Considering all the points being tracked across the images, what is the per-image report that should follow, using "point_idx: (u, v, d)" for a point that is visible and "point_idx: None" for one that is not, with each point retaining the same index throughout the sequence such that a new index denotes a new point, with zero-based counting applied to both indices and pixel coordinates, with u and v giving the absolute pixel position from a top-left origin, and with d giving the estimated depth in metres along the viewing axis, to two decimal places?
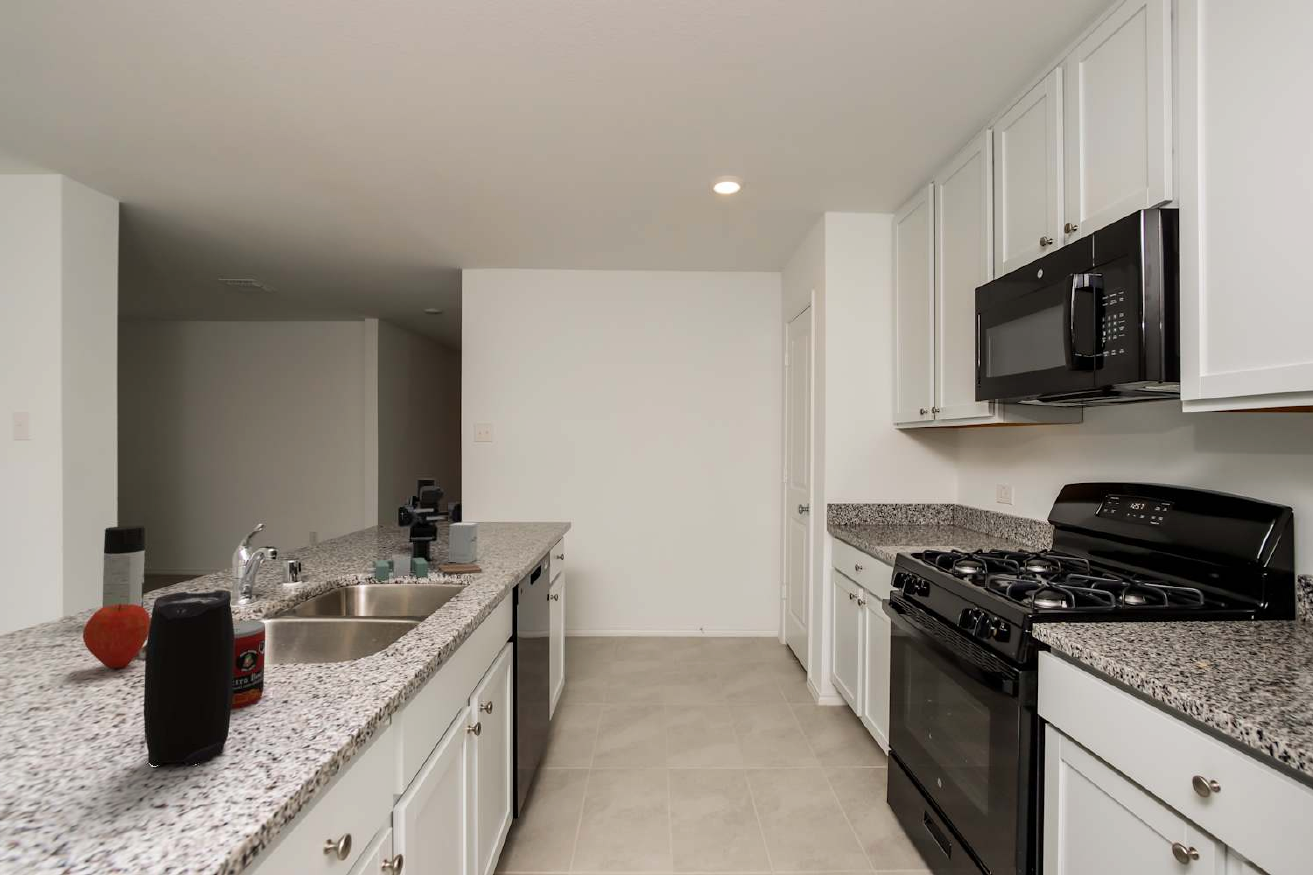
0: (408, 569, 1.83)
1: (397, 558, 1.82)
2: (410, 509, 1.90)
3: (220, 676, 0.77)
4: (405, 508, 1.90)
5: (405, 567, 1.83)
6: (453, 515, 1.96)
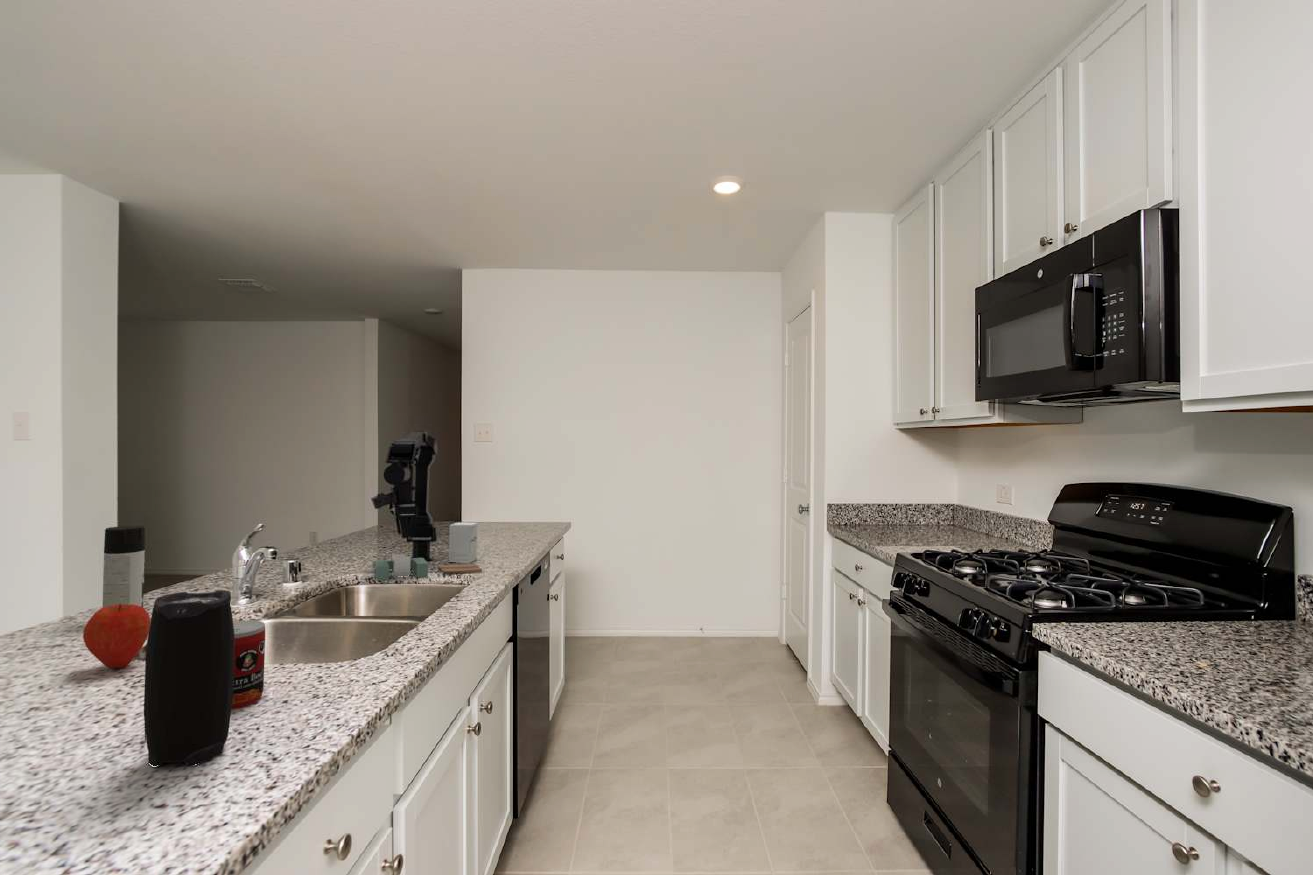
0: (408, 569, 1.83)
1: (397, 558, 1.82)
2: (392, 513, 1.89)
3: (220, 676, 0.77)
4: (390, 511, 1.90)
5: (405, 567, 1.83)
6: None
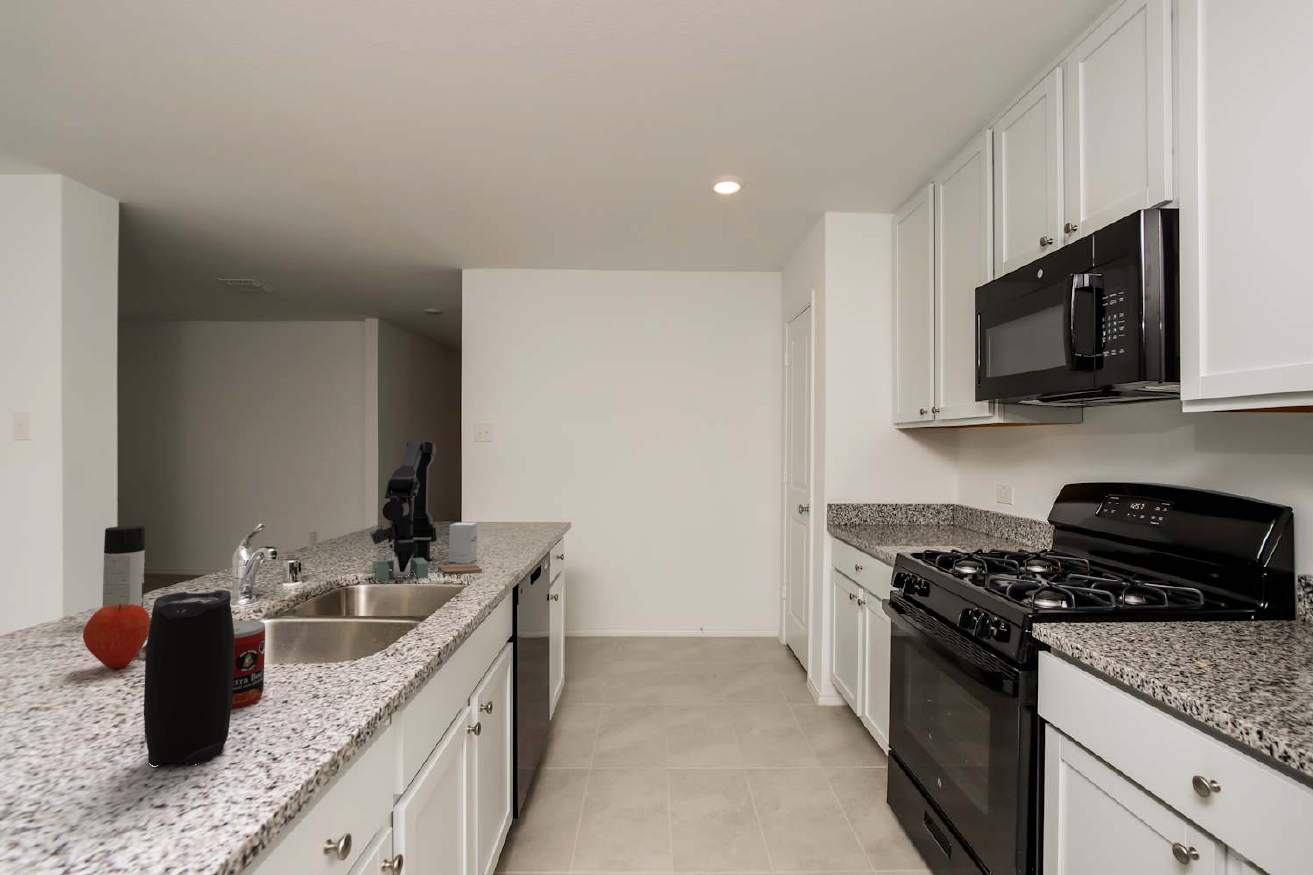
0: (408, 569, 1.83)
1: (397, 558, 1.82)
2: (392, 548, 1.87)
3: (220, 676, 0.77)
4: None
5: None
6: (405, 550, 1.81)
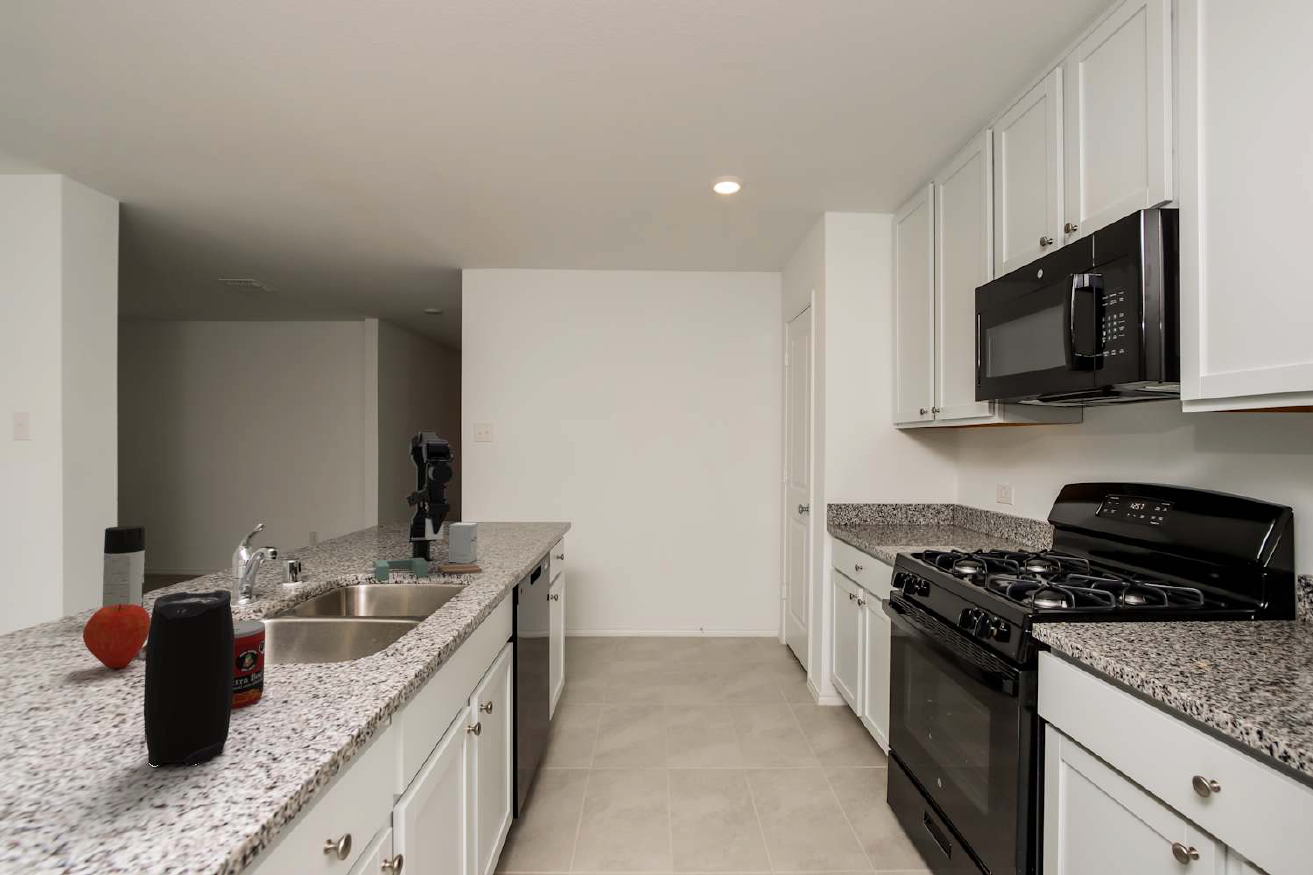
0: (441, 531, 1.88)
1: None
2: (425, 512, 1.92)
3: (220, 676, 0.77)
4: None
5: None
6: None
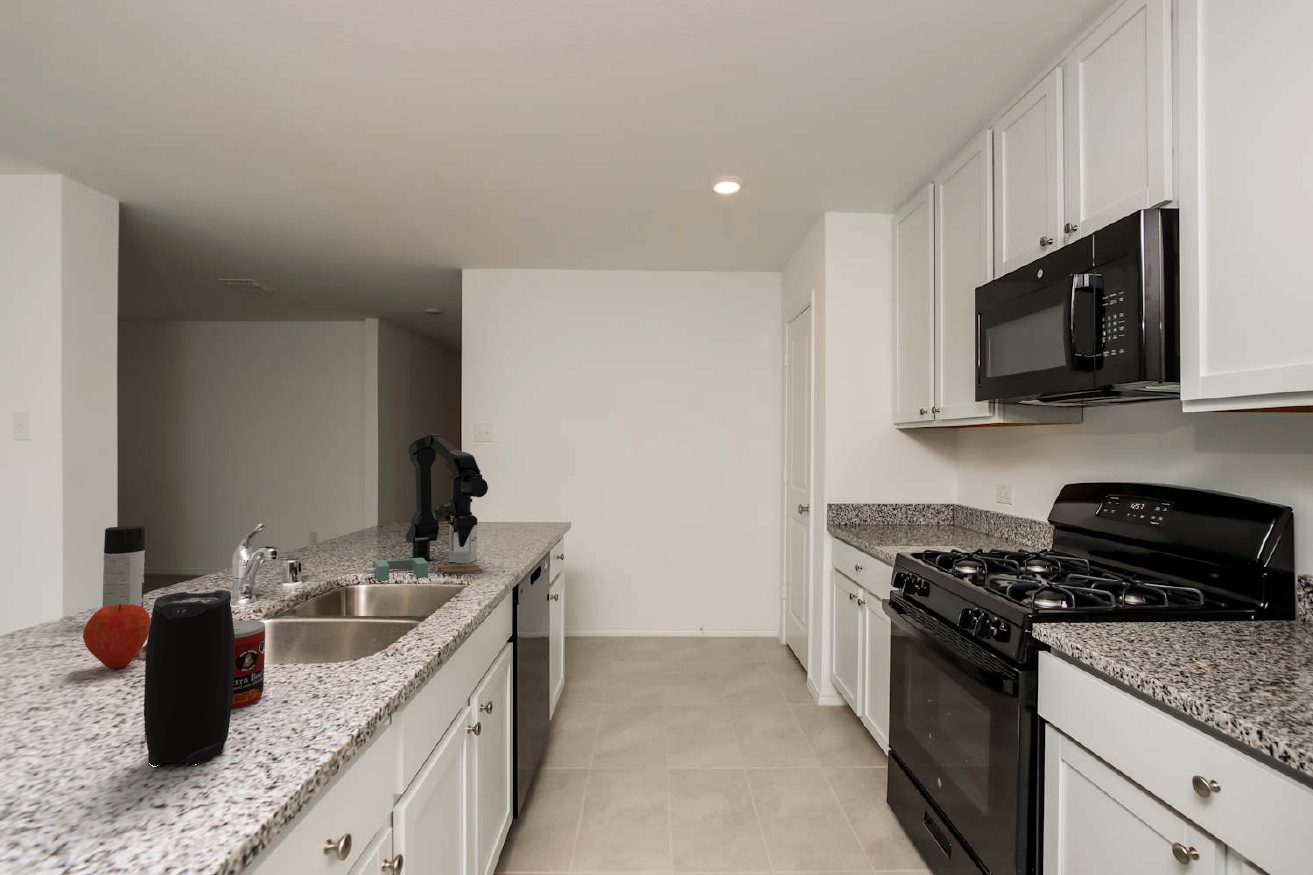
0: (467, 544, 1.92)
1: (457, 533, 1.91)
2: None
3: (220, 676, 0.77)
4: None
5: None
6: (465, 526, 1.90)
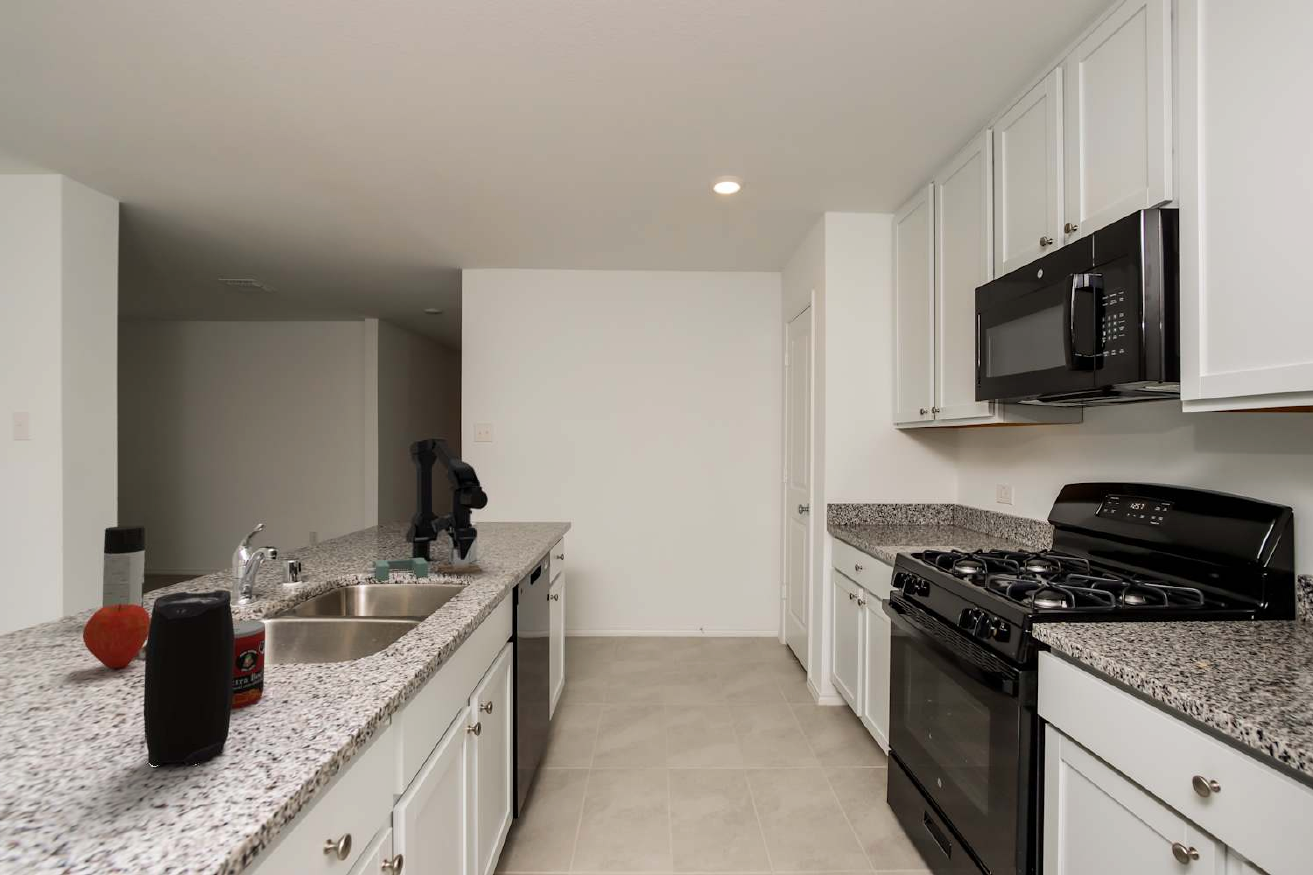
0: (467, 561, 1.92)
1: (457, 550, 1.91)
2: None
3: (220, 676, 0.77)
4: (447, 533, 1.98)
5: None
6: None
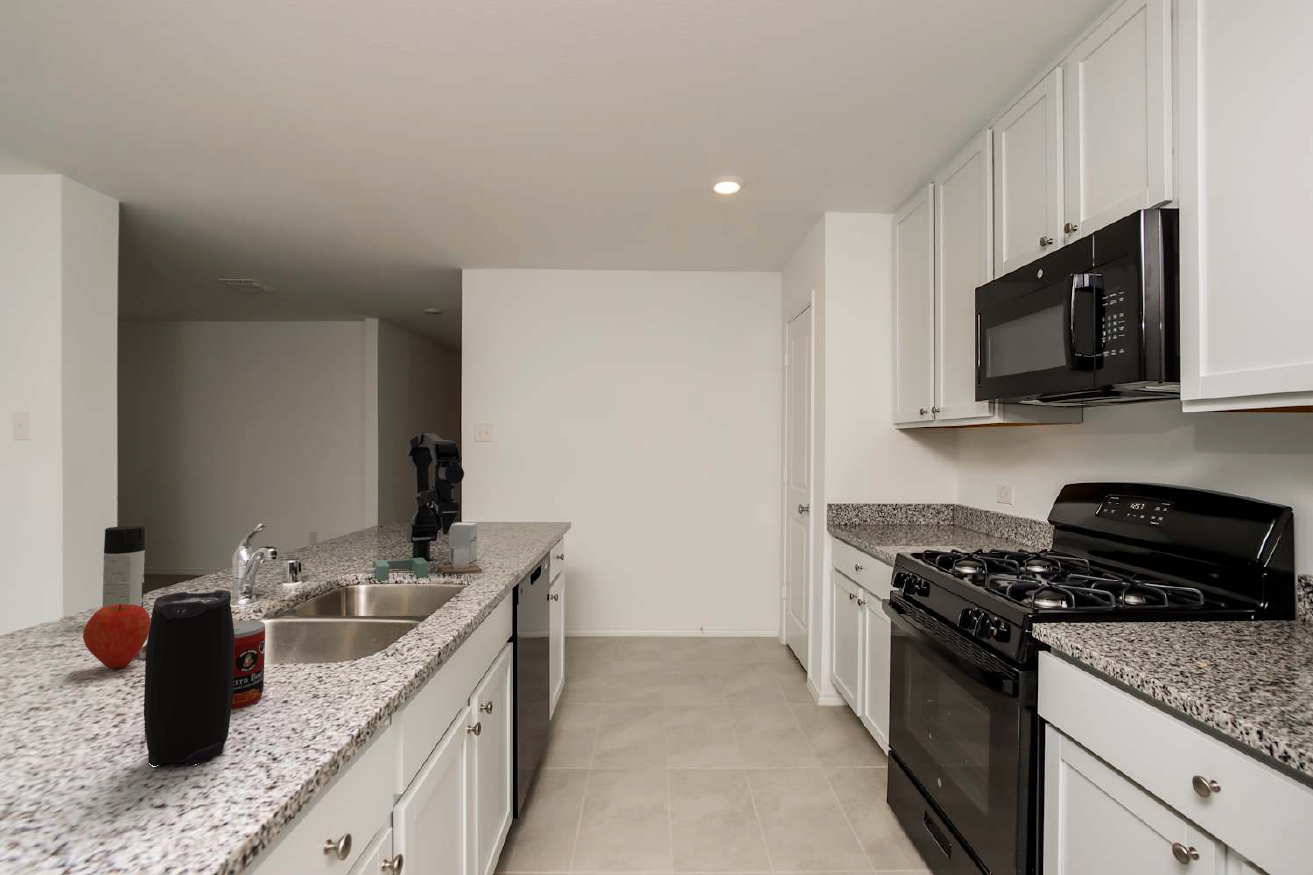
0: (467, 561, 1.92)
1: (457, 550, 1.91)
2: (431, 510, 1.97)
3: (220, 676, 0.77)
4: (429, 508, 1.98)
5: (464, 559, 1.92)
6: (449, 513, 1.87)
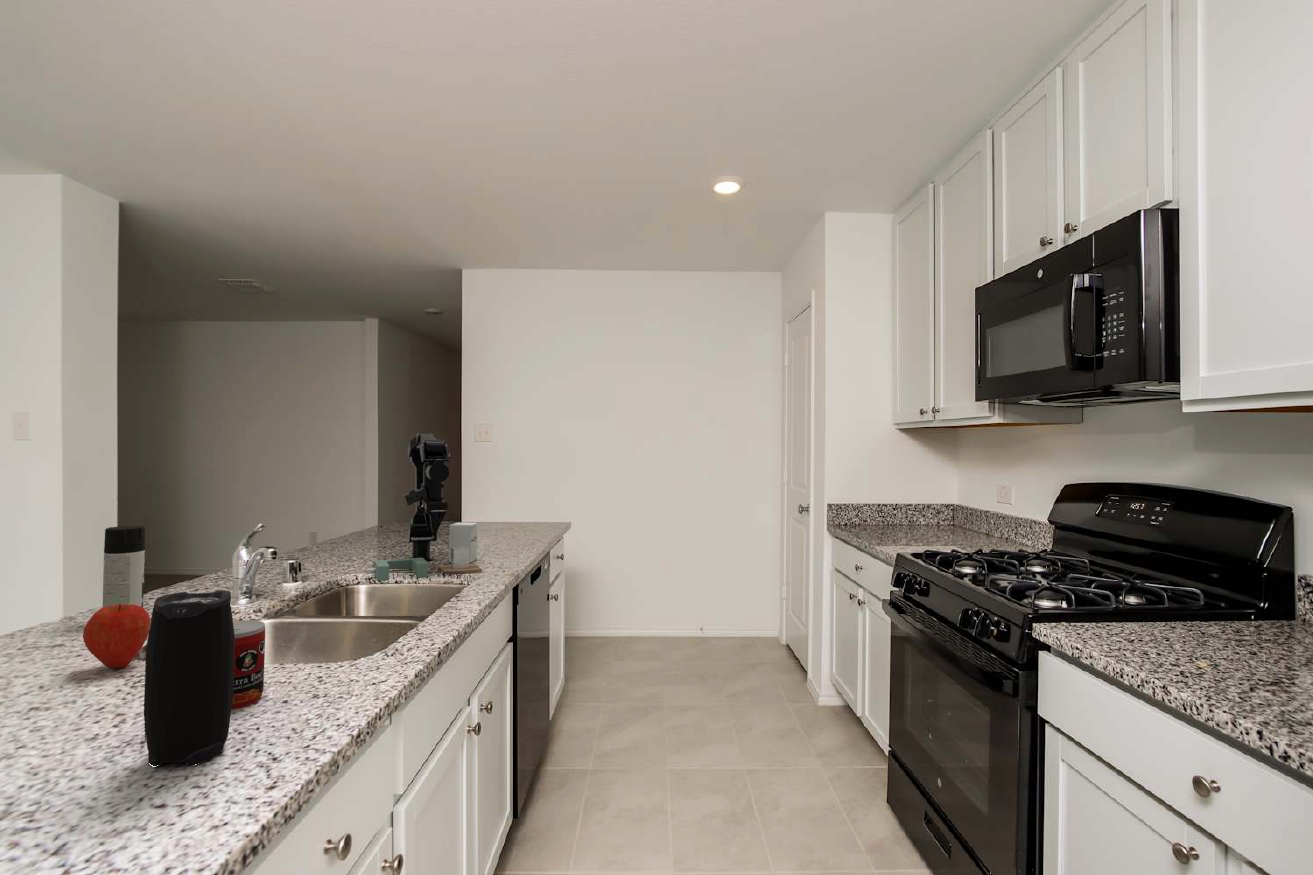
0: (467, 561, 1.92)
1: (457, 550, 1.91)
2: (421, 510, 1.97)
3: (220, 676, 0.77)
4: None
5: (464, 559, 1.92)
6: (438, 512, 1.87)
